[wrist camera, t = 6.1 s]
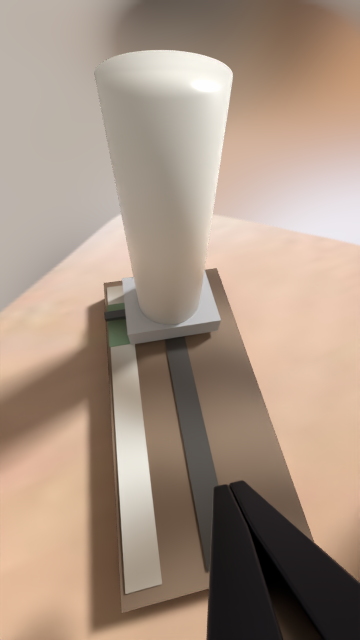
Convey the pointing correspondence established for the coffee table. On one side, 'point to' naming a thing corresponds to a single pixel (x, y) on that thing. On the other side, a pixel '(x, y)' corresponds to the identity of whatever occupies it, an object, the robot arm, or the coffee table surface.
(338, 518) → the coffee table surface
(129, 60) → the tuning slider
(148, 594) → the board
